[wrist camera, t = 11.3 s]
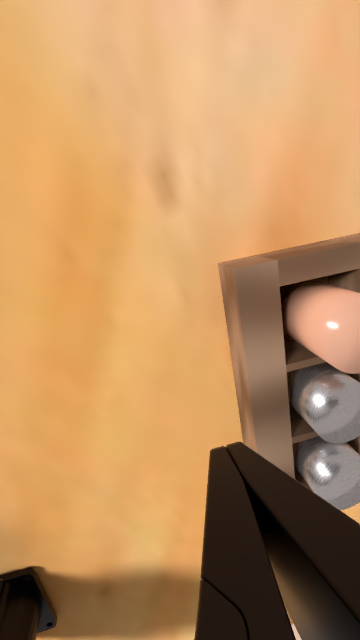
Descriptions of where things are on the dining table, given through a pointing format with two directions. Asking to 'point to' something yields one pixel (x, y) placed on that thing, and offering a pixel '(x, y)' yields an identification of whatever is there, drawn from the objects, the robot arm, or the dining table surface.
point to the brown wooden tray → (277, 340)
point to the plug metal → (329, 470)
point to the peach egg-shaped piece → (325, 323)
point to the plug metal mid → (326, 401)
